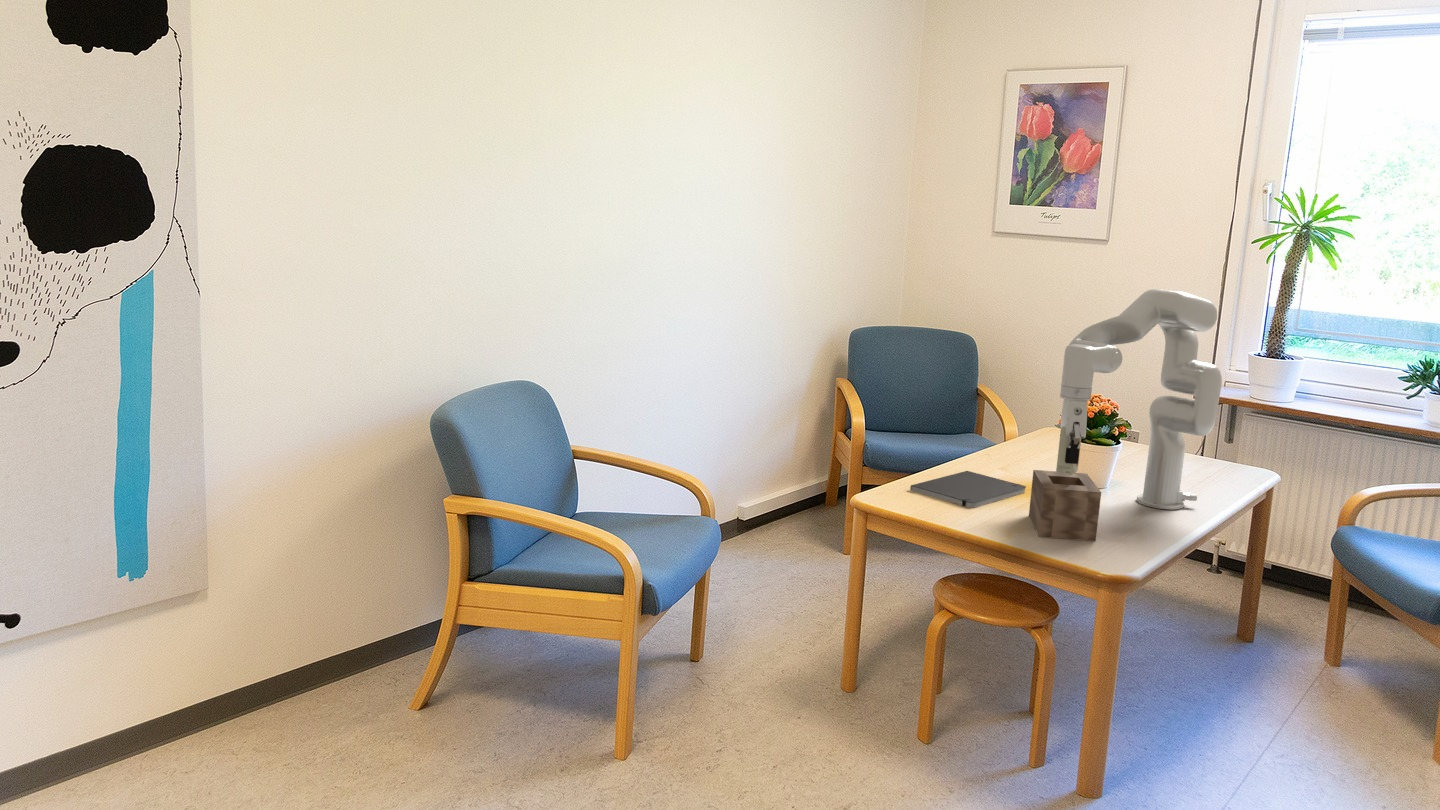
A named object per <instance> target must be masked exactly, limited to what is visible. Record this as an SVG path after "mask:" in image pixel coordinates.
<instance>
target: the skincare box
mask: <svg viewBox="0 0 1440 810" xmlns="http://www.w3.org/2000/svg"><path fill="white" fill-rule="evenodd" d="M1070 436H1074V434H1070ZM1072 440H1073V439H1071V441H1072ZM1081 445H1082V438H1081V437H1080V448H1079V449H1080V450H1079V455H1081V454H1080V453H1081V452H1080V451H1081ZM1066 448H1068V438H1067V437H1066V436H1065V428H1064V426H1062V427H1061V426H1060V435H1059V443H1058V452H1057V462H1056V468H1055V469H1056V470H1055V471H1056V472H1058V473H1064V474H1069V475H1073V474H1074V473H1078V470H1079V461H1080V458H1079V459H1078V463H1077V464H1071V463H1065V455H1066Z"/></svg>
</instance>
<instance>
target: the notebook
mask: <svg viewBox="0 0 1440 810" xmlns="http://www.w3.org/2000/svg"><path fill="white" fill-rule="evenodd" d="M1026 489H1027V486H1026V485H1022V484H1019V483H1017V482H1016V483H1015V482H1011V481H1008V480H1003V479H1000V478H995V477H993V476H988V475H984V474H981V473H979V472H978V473H977V472H974V471H973V472H972V471H970V470H964V471H960V472H957V473H953V474H949V475H945V476H941V477H938V478H934V479H930V480H926V481H922V482H918V483H914V484H911V485H910V489H909V490H910V491H912V492H915V493H919V494H922V495H925V496H928V497H931V498H935V499H937V500H938V499H939V500H942V501H944V502H948V503H952V504H956V505H959V506H962V507H965V508H969V509H975V508H979V507H982V506H985V505H988V504H992V503H995V502H998V501H1003V500H1005V499H1010V498H1012V497H1016V496H1018V495H1022V494H1025V493H1026V492H1025V491H1026Z"/></svg>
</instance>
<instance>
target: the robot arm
mask: <svg viewBox="0 0 1440 810" xmlns="http://www.w3.org/2000/svg"><path fill="white" fill-rule="evenodd" d="M1217 320H1218V309H1217V307H1216V305H1215V304H1214V303H1213V302H1212V301H1210V300H1208V299H1205V298H1203V297H1199V296H1197V295H1193V294H1192V293H1191V294H1190V293H1188V292H1186V291H1185V292H1184V291H1177V290H1169V289H1161V288H1155V289H1153V288H1152V289H1148V290H1146V291H1144V292H1143V293H1142V294H1141V295H1140V296H1138V297H1137V298H1136V299H1135V300H1134V301H1133V302H1132V303H1131V304H1130V305H1129V306H1127V308H1125V309H1124V310H1123V311H1122V312H1121V313H1119V315H1116V316H1114V317H1110V318H1108V319H1104V320H1102V321H1100V322H1097V323H1094V324H1092V325H1090V326H1088V327H1086V328H1084V329H1083V330H1081V331H1080V332H1079V333H1078V335H1076V336H1075V337H1074V338H1073V339H1072V340H1071V341H1070V343H1069V344H1068V345H1067V346H1066V347H1065V349H1064V356H1063V357H1064V358H1063V366H1062V372H1061V373H1062V375H1061V385H1060V391H1059V392H1060V394H1059V398H1061V399H1063V400H1062V408H1061V415H1060V416H1061V417H1060V428H1061V427H1062V426H1064V428H1065V436H1066V437H1067V438H1068V448H1066V455H1065V463H1071V464H1077V463H1078V459H1079V460H1080V454H1079V450H1080V451H1081V446H1080V437H1081V440H1082V439H1083V440H1084V439H1086V436H1087V435H1086V434H1087V425H1088V424H1087V423H1088V422H1087V421H1088V402H1089V401H1091V398H1092V393H1093V392H1092V391H1093V389H1092V388H1093V381H1094V374H1095V373H1099V374H1110V373H1114V372H1115V371H1117V370H1118V369H1119V368H1120V367H1121V365H1122V362H1123V354H1122V352H1121V350H1120V349H1119V348H1118V347H1117V346H1115V345H1125V344H1130V343H1136V342H1138V341H1141V340H1142V339H1143V338H1144V337H1145V336H1146V335H1148V333H1149V332H1150V331H1152V330H1153V329H1154V327H1156V326H1157V325H1158V326H1159V328H1160V329H1161V330H1162V333H1163V335H1164V340H1165V344H1164V352H1163V360H1162V366H1161V373H1160V384H1161V386H1162V387H1163V388H1164V389H1165V390H1168V391H1172V392H1176V393H1179V394H1184V395H1190V396H1194V399H1189V398H1186V397H1181V396H1175V395H1167V394H1165V395H1161V396H1157V397H1156V398H1155V399H1154V400H1153V401H1152V402H1151V404H1150V406H1149V413H1148V414H1149V426H1150V427H1149V428H1150V429H1149V430H1150V431H1149V433H1150V434H1149V435H1150V436H1149V444H1148V451H1147V453H1148V454H1147V461H1146V468H1145V477H1144V484H1143V493H1140V494H1138V495H1137V496H1136V501H1137V502H1138V504H1141V505H1143V506H1146V507H1150V508H1152V509H1153V508H1154V509H1161V510H1168V511H1169V510H1170V511H1171V510H1174V511H1175V510H1179V509H1182V508H1183V507H1184V506H1185V501H1189V502H1190V501H1191V502H1196V501H1197V500H1198V495H1197V494H1195V493H1190V492H1188V491H1187V492H1186V491H1185V492H1184V491H1182V490H1181V483H1182V475H1183V468H1184V460H1185V453H1186V443H1185V439H1184V436H1183V434H1186V435H1191V436H1192V435H1193V436H1196V437H1205V436H1207V435H1209V434H1210V433H1211V432H1212V430H1213V429H1214V426H1215V423H1216V419H1217V414H1218V410H1219V409H1218V408H1219V401H1220V397H1221V391H1222V390H1221V389H1222V381H1223V380H1222V374H1221V370H1220V369H1219V367H1218V366H1217V365H1215V364H1213V363H1209V362H1205V361H1198V351H1199V339H1198V336H1197V333H1196V332H1201V333H1203V332H1208V331H1209V330H1211V329H1212V328H1213V327H1214V326H1215V324H1216V323H1217ZM1070 434H1074V436H1070ZM1071 439H1073V440H1072V441H1071ZM1079 448H1080V449H1079Z"/></svg>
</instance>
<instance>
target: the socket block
mask: <svg viewBox="0 0 1440 810" xmlns="http://www.w3.org/2000/svg"><path fill="white" fill-rule="evenodd" d="M1101 499H1102V491H1101V490H1100V489H1099V487H1098V486H1097V485H1096V483H1095V482H1094V481H1093V479H1092V478H1091V477H1090V476H1089V473H1085V472H1084V473H1083V472H1076V473H1074V474H1073V475H1069V474H1064V473H1058V472H1056V470H1054V471H1053V470H1041V469H1038V470H1037V469H1033V471H1032V481H1031V491H1030V500H1029V501H1030V502H1029V509H1028V517H1029V520H1030V522H1031V524H1033V527H1034V530H1035V532H1036V533H1037V536H1038V537H1039V538H1049V539H1050V538H1051V539H1064V540H1074V541H1075V540H1076V541H1086V542H1087V541H1089V542H1097V535H1098V534H1097V533H1098V525H1099V516H1100V507H1101Z"/></svg>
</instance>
